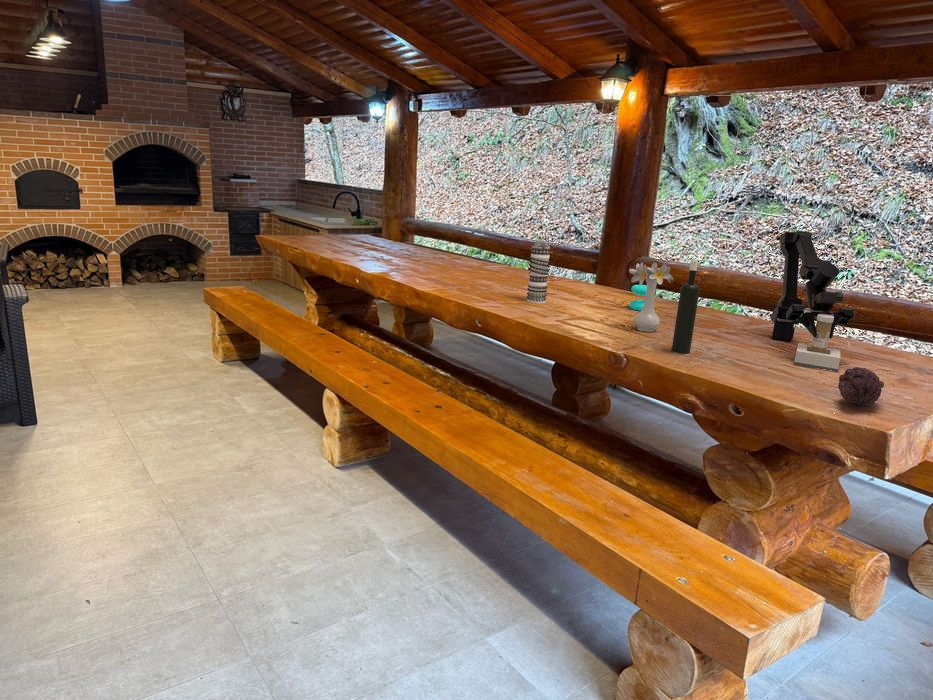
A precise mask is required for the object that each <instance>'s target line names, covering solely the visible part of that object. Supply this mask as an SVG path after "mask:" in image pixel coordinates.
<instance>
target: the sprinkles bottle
mask: <svg viewBox="0 0 933 700" xmlns="http://www.w3.org/2000/svg"><path fill="white" fill-rule="evenodd" d="M833 320H834V316H832V315H828V314H818V316H817V317H816V324H815V327H816V334H817V336H816V337H813V336H812V341H811V352H817V353H824V354H825V353H826V349H827V348H828V345H829V340H830V338H829V336H830V331H831V326H832V322H833Z"/></svg>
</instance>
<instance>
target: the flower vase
mask: <svg viewBox="0 0 933 700" xmlns="http://www.w3.org/2000/svg"><path fill="white" fill-rule="evenodd" d="M628 272H629V273H630V274H631V275H633V276H632V277H631V280H630V282H631V283H636V282H639V285H643V283H644V281H646V285H647V292H646V296H645V299H644V300H645V303H644V306H643V308H642V310H641V311H638V313H637V314H636V315H635V316H634V318H633V323H634V325H635V326H636V327H637V328H636V329H637V330H638V331H641V332H645V333H652V332H654V331H655V329H657V328H658V327H659V326H660V323H661V320H660V318H659V316H658V314H657V313H656V311H655V293H656V292H655V290H657V285H663V282H664V279H665V280H667V281H668V283H670V284H671V281H675V278H674V277H673V276H672V275H671V274H670V273H671V266H667V265H666V263H665V262H664V263H663V265H661V266H660V268H659V267H658V264H657V262H653V263H652V264H651V267H649V266H647V265H646V264H644V262H640V264H639V263H636V265H635V268H629V270H628Z"/></svg>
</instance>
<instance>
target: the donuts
mask: <svg viewBox="0 0 933 700" xmlns="http://www.w3.org/2000/svg"><path fill="white" fill-rule="evenodd" d="M656 291H657V289H655V293H656ZM631 292H632V293H633V294H635V295H637V296H641V297H642V296H645V297H646V292H647V284H642V285H640V284H634V285H632V286H631ZM644 303H645V299H644V300H643V299H634V300H631V302H630V303H629V304H628V305H629V308H630V309H631V310H633V311H637V312H640V311H641V310H642V308H643V306H644Z"/></svg>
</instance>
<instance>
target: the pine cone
mask: <svg viewBox="0 0 933 700" xmlns="http://www.w3.org/2000/svg"><path fill="white" fill-rule="evenodd" d="M837 385H838V386H837V389H839V394H840V396H841V397H842V399H843V400H845V401H848V402H849V403H852V404H856V405H858V406H865V407H866V406H870V405H874V404H875V403H876V402H877V401H878V400H879V398H880V397H881V395H882V391H883V389H884V387H885V383H884V380H880V377H879V376H878V375H877V374H876V373H875V372H874V371H872V370H869V369H868V368H866V367H858V366H855V367H853V368H847V369H845V371H844V373H843V374H839V377H838V384H837Z"/></svg>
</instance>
